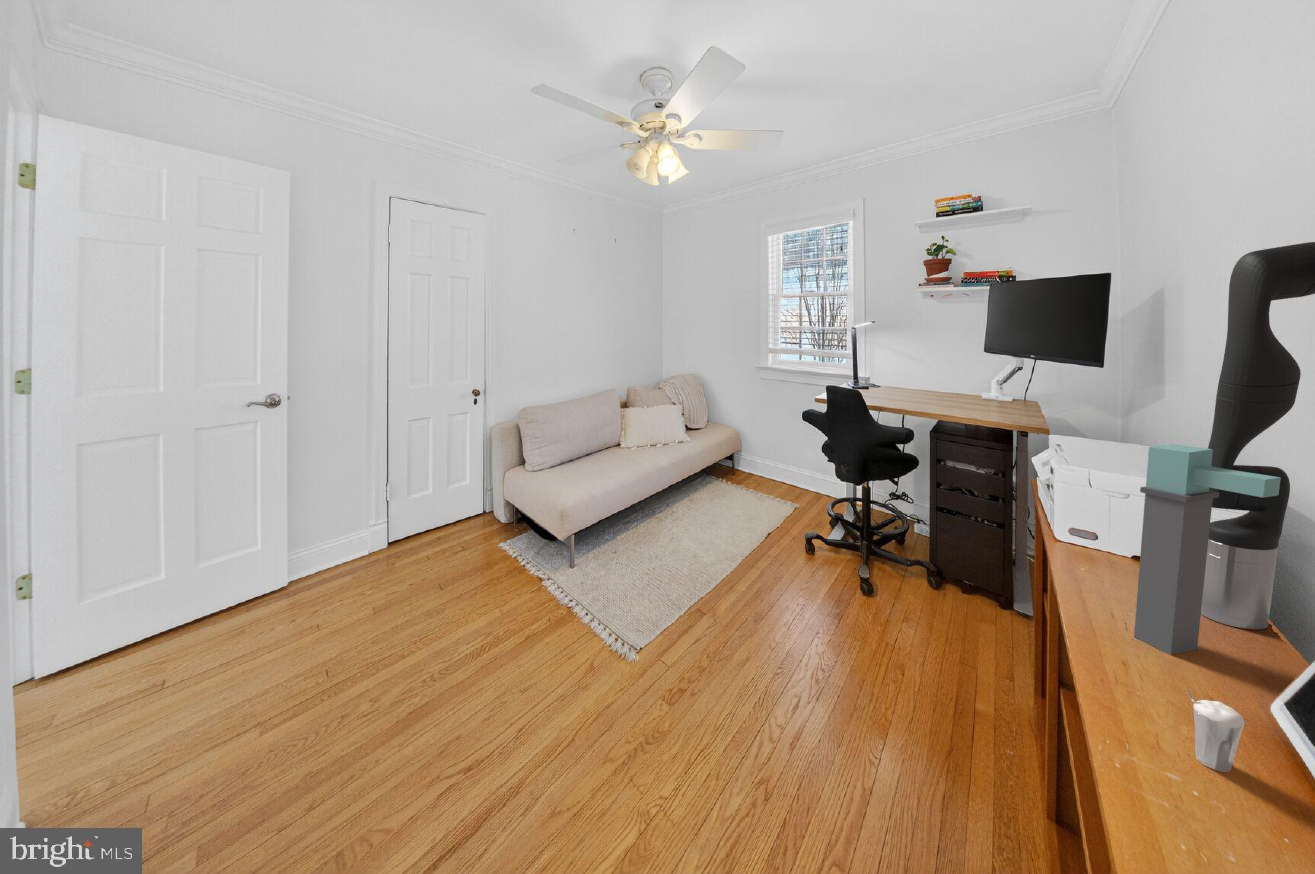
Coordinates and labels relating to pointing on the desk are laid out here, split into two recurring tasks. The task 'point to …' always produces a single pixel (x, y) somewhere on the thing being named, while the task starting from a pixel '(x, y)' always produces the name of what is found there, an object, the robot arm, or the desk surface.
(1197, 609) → the stand
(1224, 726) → the milkshake
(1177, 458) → the teal handle
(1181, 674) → the desk surface
